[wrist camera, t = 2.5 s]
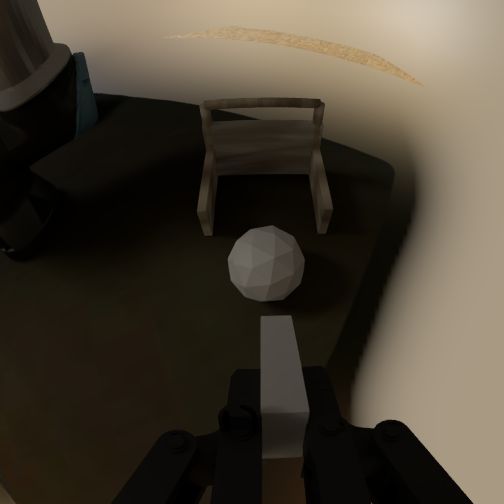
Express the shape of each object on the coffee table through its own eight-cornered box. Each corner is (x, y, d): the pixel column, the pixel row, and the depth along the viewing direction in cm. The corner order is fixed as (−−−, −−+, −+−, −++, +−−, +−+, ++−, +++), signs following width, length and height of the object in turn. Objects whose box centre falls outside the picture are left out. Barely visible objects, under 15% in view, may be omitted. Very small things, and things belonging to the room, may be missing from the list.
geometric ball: (264, 304, 34) (236, 323, 27) (236, 244, 35) (202, 247, 28) (322, 278, 31) (309, 292, 24) (291, 214, 32) (269, 208, 25)
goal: (325, 233, 36) (347, 159, 25) (204, 235, 36) (182, 162, 25) (314, 169, 41) (325, 97, 30) (212, 170, 42) (198, 99, 31)
